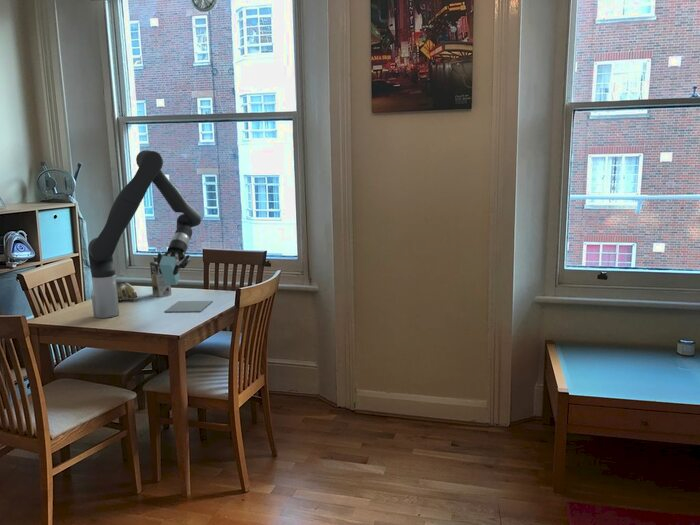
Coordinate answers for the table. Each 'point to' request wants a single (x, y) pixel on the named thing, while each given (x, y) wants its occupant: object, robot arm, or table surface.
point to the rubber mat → (189, 306)
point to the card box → (169, 270)
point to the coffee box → (159, 282)
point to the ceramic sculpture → (126, 292)
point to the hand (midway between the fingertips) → (167, 273)
